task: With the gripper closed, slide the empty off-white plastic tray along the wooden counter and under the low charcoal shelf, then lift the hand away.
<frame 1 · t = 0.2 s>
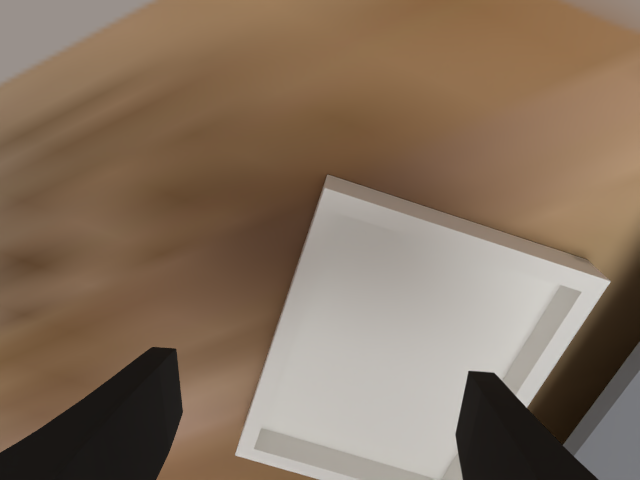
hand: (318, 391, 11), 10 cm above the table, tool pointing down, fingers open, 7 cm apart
tray: (395, 352, 23), on the table
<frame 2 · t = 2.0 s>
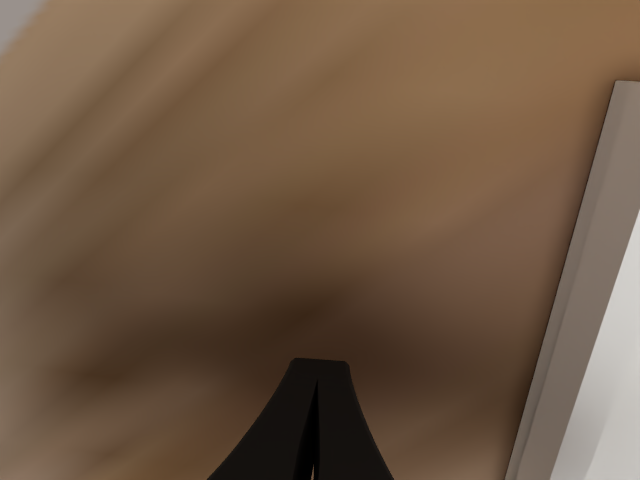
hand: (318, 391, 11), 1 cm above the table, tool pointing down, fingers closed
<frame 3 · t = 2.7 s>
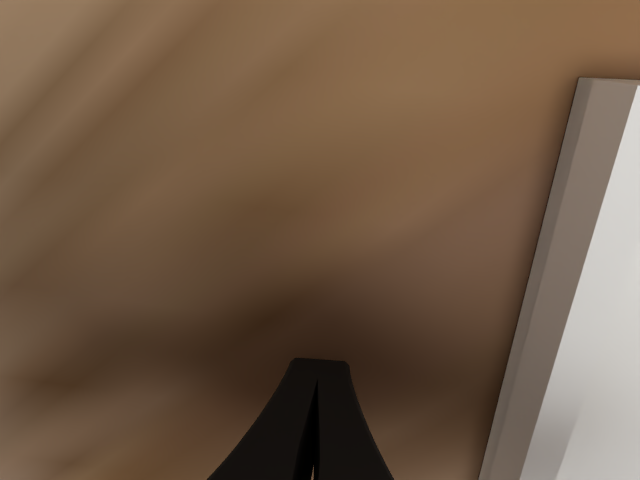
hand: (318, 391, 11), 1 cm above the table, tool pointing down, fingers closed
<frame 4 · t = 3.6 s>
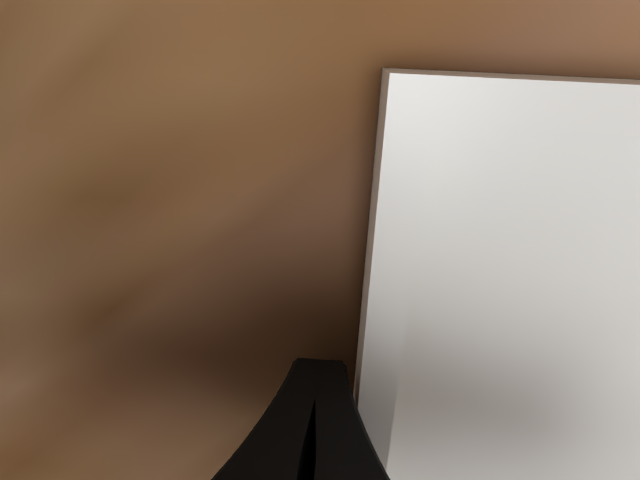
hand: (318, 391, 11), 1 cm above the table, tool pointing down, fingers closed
tray: (587, 388, 12), on the table, touching gripper
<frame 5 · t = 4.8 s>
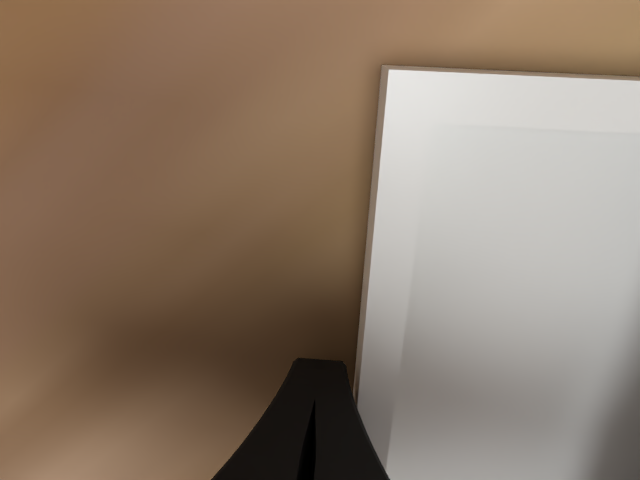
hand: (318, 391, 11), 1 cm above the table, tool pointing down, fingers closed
tray: (587, 385, 12), on the table, touching gripper
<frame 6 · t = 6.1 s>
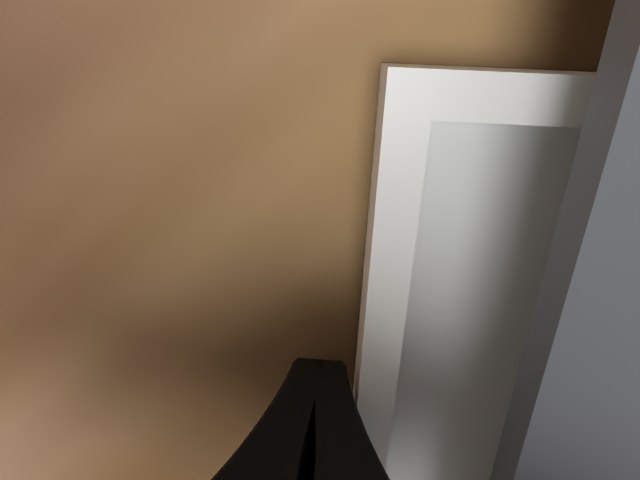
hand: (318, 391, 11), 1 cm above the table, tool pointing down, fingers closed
tray: (587, 384, 12), on the table, touching gripper
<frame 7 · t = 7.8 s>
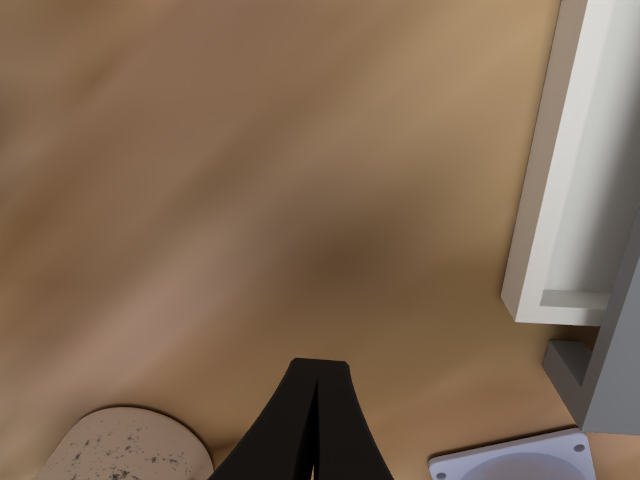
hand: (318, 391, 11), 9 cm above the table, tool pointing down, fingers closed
teacup with lid: (165, 454, 26), on the table
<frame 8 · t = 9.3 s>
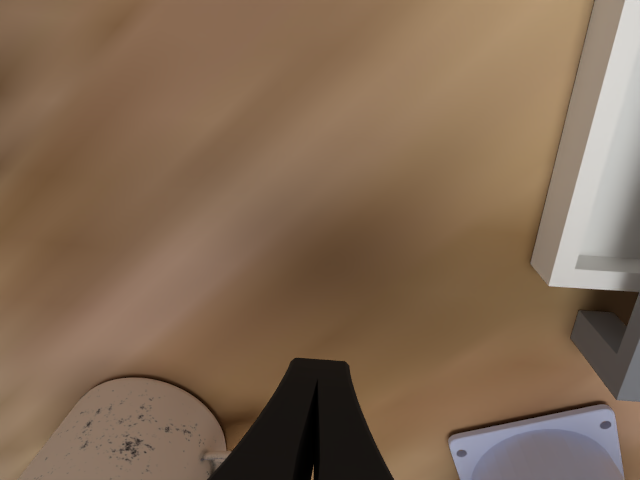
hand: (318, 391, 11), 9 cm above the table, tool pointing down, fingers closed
teacup with lid: (176, 428, 25), on the table
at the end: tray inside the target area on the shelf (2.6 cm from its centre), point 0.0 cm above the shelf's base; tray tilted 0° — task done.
